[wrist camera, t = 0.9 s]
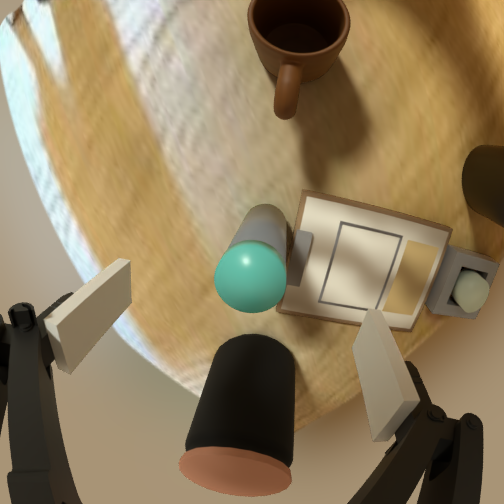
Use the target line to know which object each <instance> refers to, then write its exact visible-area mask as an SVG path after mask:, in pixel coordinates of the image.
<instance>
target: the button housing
mask: <svg viewBox="0 0 504 504" xmlns="http://www.w3.org/2000/svg"><path fill="white" fill-rule="evenodd" d="M462 266H463V267H467V268H471V269H474V270H477V271H476V272H477V273H478V274H479V275H480V276H481V277H482V278H483V279H485V280H486V281H487V283H488V284H489V289H490V287H491V284H492V282H493V279H494V277H495V275H496V272H497V269H498V267H499V263H497V262H496V261H495V260H493V259H492V258H491V257H489V256H486V255H483V254H480V253H476V252H473V251H470V250H466V249H463V248H460V247H456V246H453V245H449V244H448V245H447V248H446V251H445V254H444V257H443V260H442V263H441V265H440V268H439V271H438V273H437V276H436V278H435V281H434V283H433V286H432V288H431V291H430V293H429V295H428V298H427V300H426V302H425V304H426V306H427V307H428V308H429V310H430V311H431V313H432V314H439V315H446V316H454V317H461V318H468V319H476V317H477V315H478V313H479V311H480V309H478V310H477V311H475V312H472V313H467V312H465V311H464V310H463V309H462V308H461V306H460V305H459V304H458V303H457V302H456V301H455V299H454V298H453V297H450V294H451V292H452V290H453V287H454V285H455V283H456V280H457V278H458V275H459V273H460V270H461V267H462Z"/></svg>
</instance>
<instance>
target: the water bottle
mask: <svg viewBox="0 0 504 504" xmlns="http://www.w3.org/2000/svg"><path fill="white" fill-rule="evenodd" d="M462 188H463V192H464V196H465V198H466V201H467V202H468V204H469V206H470V207H471V208H472V209H473V210H474V211H476V212H477V213H479V214H481V215H483V216H485V217H486V218H488V219H490V220H492V221H493V222H495V223H497V224H498V225H500V226H502V227H503V228H504V146H493V145H481V146H478V147H476V148H474V149H473V150H472V151H471V152H470V154H469V155H468V157H467V158H466V161H465V163H464V167H463V171H462Z"/></svg>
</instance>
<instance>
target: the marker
mask: <svg viewBox="0 0 504 504" xmlns="http://www.w3.org/2000/svg"><path fill="white" fill-rule="evenodd" d="M286 232H287V223H286V218H285V216H284V214H283V213H282V211H281V210H280V209H278V208H277V207H275V206H273V205H271V204H260V205H257V206H255V207H253V208H252V209H251V210H250V211H249V212H248V213H247V215H246V217H245V218H244V220H243V222H242V224H241V226H240V227H239V229H238V231H237V233H236V235H235V236H234V238H233V240H232V242H231V244H230V245H229V247H228V249H227V251H226V252H225V253H224V255H223V257H222V258H221V260H220V262H219V264H218V266H217V268H216V271H215V275H214V281H215V287H216V290H217V292H218V294H219V296H220V297H221V298H222V300H223V301H224V302H225V303H227V304H228V305H229V306H231V307H232V308H234V309H236V310H239V311H242V312H246V313H259V312H263V311H266V310H268V309H270V308H272V307H274V306H275V305H276V304H277V303H278V302H279V301H280V300H281V298H282V297H283V295H284V292H285V289H286Z"/></svg>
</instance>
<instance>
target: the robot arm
mask: <svg viewBox="0 0 504 504" xmlns="http://www.w3.org/2000/svg"><path fill="white" fill-rule="evenodd" d="M131 303H132V299H131V267H130V260H125V259H121V258H118V259H117V260H116V261H114V262H113V263H112V264H110V265H109V266H108V267H107V268H105V269H104V270H103V271H101V272H100V273H99V274H98V275H96V276H95V277H94V278H93V279H91V280H90V281H89V282H88V283H86V284H85V285H84V286H83V287H81V288H80V289H79V290H78V291H76V292H75V293H72V292H71V293H68V294H66V295H63V296H62V297H61V298H60V299H58V300H57V301H56V302H54V303H53V304H52V305H51V306H50V307H48V308H47V309H46V310H45V311H44V312H42V313H41V314H40V315H39V316H38V317H37V318H36V315H35V311H34V307H33V306H32V305H31V304H29V303H23V302H22V303H18V304H15V305H13V306H12V307H11V308H10V309H9V311H8V315H9V318H10V321H11V324H12V325H11V324H6V323H4V321H3V317H2V315H1V314H0V434H1V429H2V424H3V419H4V415H5V410H6V406H7V402H8V427H9V441H10V450H11V459H12V468H13V469H12V471H11V472H9V473H8V475H7V482H8V488H9V493H10V498H11V503H12V504H82V502H81V500H80V498H79V496H78V493H77V490H76V487H75V484H74V481H73V477H72V474H71V470H70V467H69V463H68V459H67V455H66V452H65V447H64V443H63V438H62V433H61V429H60V423H59V418H58V412H57V405H56V398H55V391H54V382H53V373H52V367H51V363H52V362H53V361H54V359H55V361H56V364H57V367H58V369H60V370H62V371H64V372H66V373H68V374H71V373H72V372H73V371H74V369H75V368H76V367H77V366H78V365H79V363H80V362H81V361H82V360H83V359H84V357H85V356H86V355H87V354H88V353H89V351H90V350H91V349H92V348H93V347H94V346H95V344H96V343H97V342H98V341H99V340H100V338H101V337H102V336H103V335H104V334H105V333H106V331H107V330H108V329H109V328H110V327H111V326H112V325H113V323H114V322H115V321H116V320H117V319H118V318H119V317H120V315H121V314H122V313H123V312H124V311H125V310H126V309H127V307H128V306H129V305H130V304H131ZM352 351H353V355H354V359H355V363H356V367H357V371H358V375H359V379H360V384H361V388H362V392H363V396H364V402H365V406H366V411H367V416H368V421H369V426H370V431H371V436H372V441H388V440H389V439H390V438H391V437H392V436H393V434H394V433H395V436H396V441H395V443H394V444H392V446H391V447H390V448H389V449H388V450H387V451H386V452H385V454H386V455H385V456H384V458H383V459H382V461H381V462H380V463H379V465H378V466H377V467H376V469H375V470H374V471H373V473H372V474H371V475H370V477H369V478H368V479H367V480H366V482H365V483H364V484H363V486H362V487H361V488H360V489H359V490H358V492H357V493H356V494H355V495H354V496H353V498H352V499H351V500H350V501H349V502H348V503H347V504H406V503H407V501H408V499H409V498H410V496H411V494H412V493H413V491H414V489H415V488H416V485H417V484H418V482H419V480H420V479H421V477H422V475H423V473H424V471H425V474H424V479H423V483H422V487H421V491H420V494H419V498H418V501H417V504H479V503H480V494H481V485H482V472H483V471H482V470H483V425H482V422H481V420H480V419H479V418H478V417H477V416H476V415H474V414H472V413H466V414H464V415H463V416H462V417H461V418H460V420H456V419H452V418H447V416H446V413H445V412H444V410H443V409H441V408H440V407H439V406H436V405H434V404H432V402H431V400H430V398H429V395H428V393H427V390H426V388H425V386H424V384H423V381H422V379H421V378H420V375H419V372H418V370H417V368H416V367H415V366H414V365H413V364H412V363H411V362H410V361H404V360H403V357H402V355H401V353H400V350H399V348H398V346H397V344H396V342H395V339H394V337H393V335H392V333H391V331H390V329H389V326H388V324H387V322H386V320H385V318H384V316H383V314H382V312H381V310H377V309H371V308H368V310H367V313H366V315H365V318H364V320H363V323H362V325H361V327H360V330H359V332H358V335H357V337H356V339H355V342H354V344H353V346H352ZM425 469H426V470H425Z"/></svg>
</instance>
